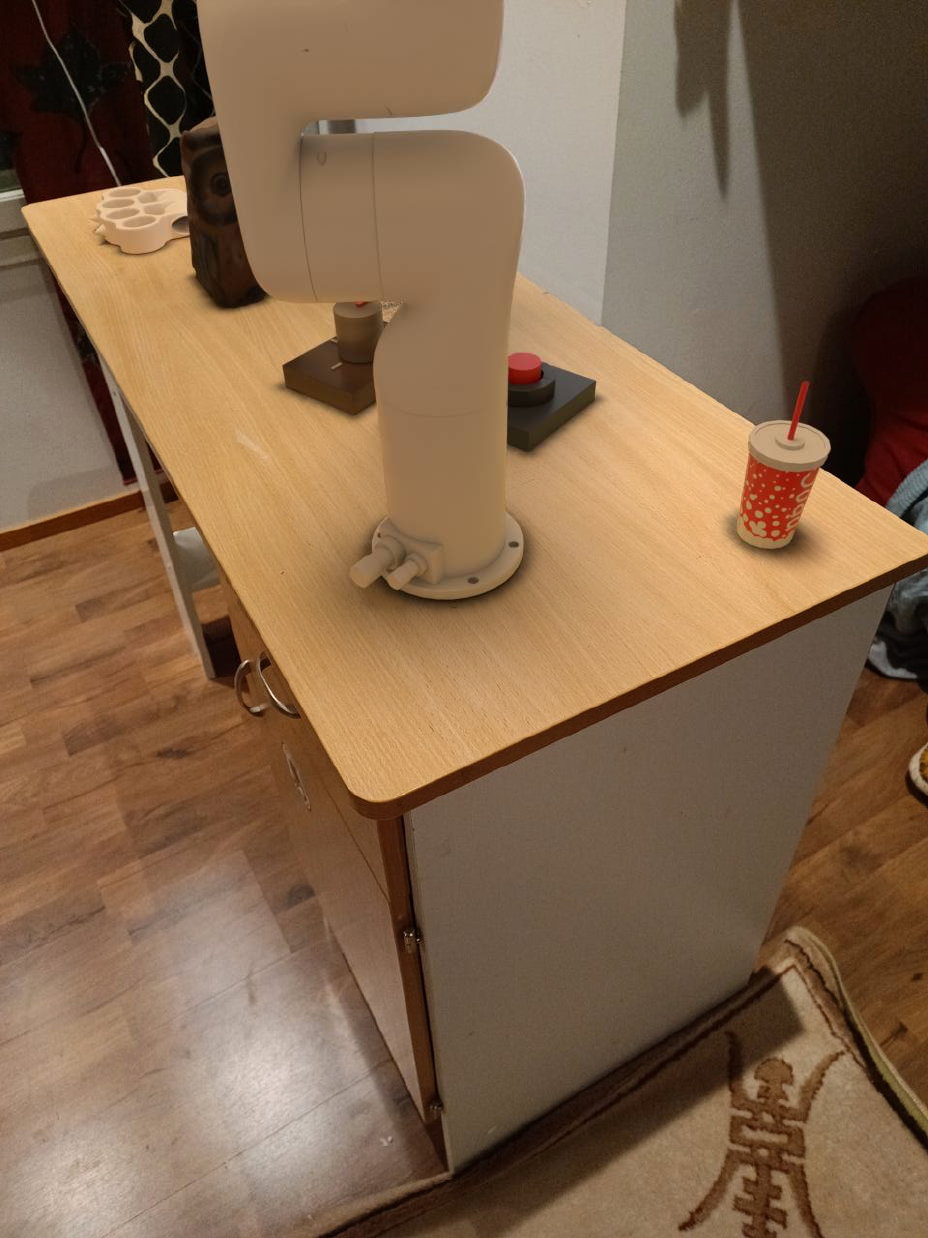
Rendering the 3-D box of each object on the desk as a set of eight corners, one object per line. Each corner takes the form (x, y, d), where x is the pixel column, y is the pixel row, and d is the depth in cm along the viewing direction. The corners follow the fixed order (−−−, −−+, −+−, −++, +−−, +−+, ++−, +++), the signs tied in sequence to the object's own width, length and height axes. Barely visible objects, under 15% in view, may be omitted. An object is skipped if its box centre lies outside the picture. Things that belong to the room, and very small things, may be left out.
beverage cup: (756, 562, 71) (799, 411, 62) (712, 520, 75) (746, 372, 66) (817, 542, 73) (868, 392, 63) (771, 502, 77) (812, 355, 67)
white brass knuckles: (210, 241, 123) (103, 260, 118) (185, 201, 134) (86, 217, 130) (205, 216, 120) (95, 235, 116) (179, 177, 132) (79, 193, 128)
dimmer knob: (363, 368, 91) (358, 319, 87) (328, 354, 93) (322, 306, 89) (395, 349, 93) (391, 301, 90) (360, 336, 96) (355, 289, 92)
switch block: (528, 452, 84) (529, 415, 81) (446, 419, 88) (445, 383, 85) (594, 399, 90) (598, 364, 87) (515, 371, 95) (516, 336, 92)
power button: (527, 390, 85) (527, 373, 84) (497, 379, 86) (497, 362, 85) (547, 375, 87) (548, 358, 86) (518, 364, 88) (518, 348, 87)
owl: (291, 262, 117) (264, 92, 103) (303, 302, 108) (276, 122, 94) (194, 274, 115) (154, 102, 101) (199, 315, 106) (156, 133, 92)
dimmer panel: (354, 415, 89) (351, 392, 87) (285, 386, 93) (281, 363, 91) (440, 361, 97) (439, 338, 95) (373, 336, 101) (371, 314, 99)
